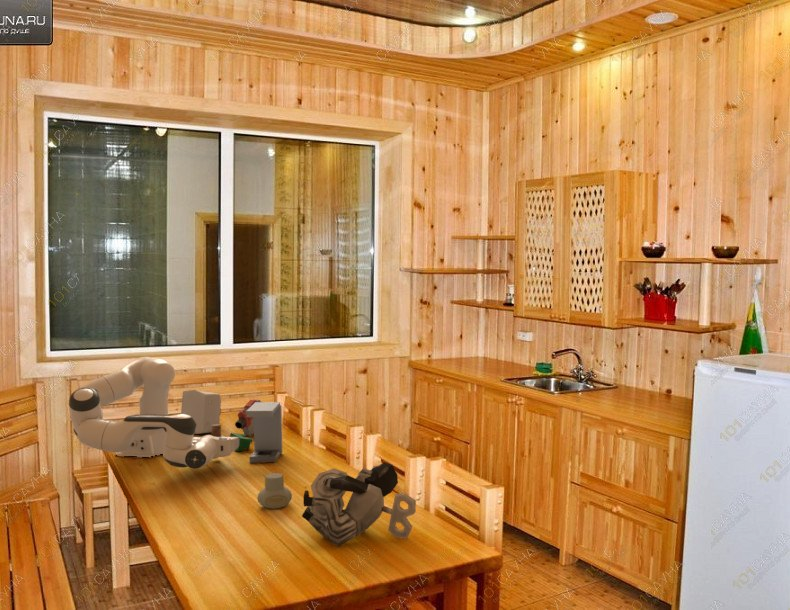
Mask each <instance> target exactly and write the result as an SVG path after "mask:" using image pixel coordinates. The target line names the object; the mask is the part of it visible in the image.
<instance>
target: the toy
mask: <svg viewBox="0 0 790 610" xmlns="http://www.w3.org/2000/svg"><path fill="white" fill-rule="evenodd" d="M398 483H399V481H398V472H397V471H396V470H395V467H394V466H393V464H390V463H388V462H385V461H384V462H382V463H380V464H378V465H373V467H371V469H368V468H365V467H363V468H362V469H361V470H360V471H359V472H358V474H357V476H356V477H353V476H351V475H348V472H345V471H343V470H341V469H337V468H331V469H328V470H325V471H323V472H319V473H318V474H317V476H316V477H315V478H314V480H313V481H312V483H311V484H310V488H311V492H312V496H310V493H309V491H308V490H304V493H303V506H304V507H306V508H305V509H304V511H303V513H302V515H301V517H302V518H303V519H305V520H306V521H307V522H308V523H309V524H310V525H311V526H312V527H313V528H314V529H315V531H316V532H317V533H319V535H321V537H322V538H325V539H329V540H330V542H331V543H332V544H333V545H335V546H336V547H339V546H341V545H343V544H345V543H346V542H348V541H350V540H353V539H354V538H356V537H358V536H360V535H362V534H363V533H364V532H366V531H367V530H368V529H369V528H370V527H371V526H372V525H374V523H375V522H376V521H377V520H378V519H379V518H380V517H381V516H382V514H383V513H386V514H388V515H390V519H389V523H388V529H387V531H388V533H390V534H391V535H393V536H394V538H399V539H408V537H409V535H410V533H411V531H412V528H413V525H412V524H411V522H410V521H409V519H408V517H410V516H413V515H415V514H416V513H417V512H416V510H417V509H416V502H417V501H416V499H415V498H413V497H412V496H410V495H408V494H407V493H396V494H395V495H394V500H393V505H392V508H391V507H388V506H385V500H384V498H385V497H386V496H388V495H390V494H391V493H392V492H393V490H394V489H395V488H396V486H398ZM346 492H350V493H351V496H350V498H349V499H348V502H347V505H346V507H345V502H344V499H343V497H344V495H345V494H346ZM401 502H405V504H407V506H408V507H407V508H405V509H404V508H403V507H402V506H401ZM344 507H345V508H344ZM398 523H399V524H401V525H402V526H403V529H402V530H401V529H398V527H397V526H396V524H398Z"/></svg>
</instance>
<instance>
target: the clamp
mask: <svg viewBox="0 0 790 610" xmlns="http://www.w3.org/2000/svg"><path fill="white" fill-rule="evenodd" d="M229 437H238V438H239V447H238V448H237V449H236V450H235V451H236V452H243V450H249V449H250V447H251V446H250V445H251V443H253V442H254V438H251V437H247V436H246V435H244V433H237V432H236V433H235V432H230V435H229ZM248 448H249V449H248Z"/></svg>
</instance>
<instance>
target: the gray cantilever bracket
mask: <svg viewBox="0 0 790 610" xmlns="http://www.w3.org/2000/svg"><path fill="white" fill-rule="evenodd" d="M282 414H283V413H282V405H281V402H279V401H274V402H272V401H270V402H269V401H268V402H267V401H265V402H262V401H261V402H255V403H254V404H253V405H252V406H251V407H250V408H249V409H248V410H247V411H246V415H247V417H253V418H254V435H253V445H254V447H253V448H254V450H253V452H254V451H255V450H280V454H282V453H284V452H283V422H282V420H283V419H282V418H283V417H282ZM282 455H283V454H282Z"/></svg>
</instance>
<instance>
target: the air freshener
mask: <svg viewBox="0 0 790 610" xmlns="http://www.w3.org/2000/svg"><path fill="white" fill-rule="evenodd" d="M284 482H285V481H284V475H283V474H282V473H278V472H276V473H274V472H273V473H268V474H266V475H265V476H264V488H262V489H261V490H260V491H259V492H258V494H257V497H256V498H257V502H258V503H259V504H260V505H261V506H262V507H264V508H265V509H269V510H270V509H271V510H279V509H281V508H283V507H285V506H287V505H289V503H290V502H291V500H292V498H293V495H292V491H291V490H290V489H289V488H288V487H285V483H284Z"/></svg>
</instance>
